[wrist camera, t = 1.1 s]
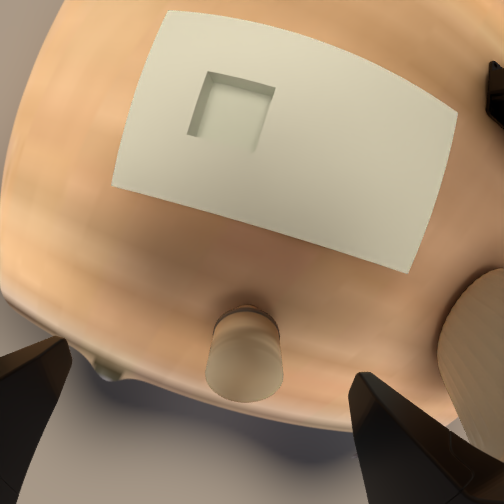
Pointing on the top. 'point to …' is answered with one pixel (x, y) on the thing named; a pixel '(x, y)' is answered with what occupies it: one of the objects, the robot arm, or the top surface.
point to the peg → (245, 356)
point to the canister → (477, 361)
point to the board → (286, 137)
